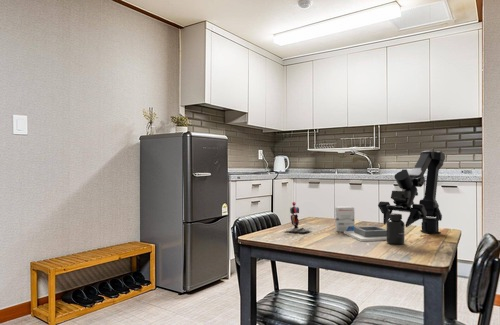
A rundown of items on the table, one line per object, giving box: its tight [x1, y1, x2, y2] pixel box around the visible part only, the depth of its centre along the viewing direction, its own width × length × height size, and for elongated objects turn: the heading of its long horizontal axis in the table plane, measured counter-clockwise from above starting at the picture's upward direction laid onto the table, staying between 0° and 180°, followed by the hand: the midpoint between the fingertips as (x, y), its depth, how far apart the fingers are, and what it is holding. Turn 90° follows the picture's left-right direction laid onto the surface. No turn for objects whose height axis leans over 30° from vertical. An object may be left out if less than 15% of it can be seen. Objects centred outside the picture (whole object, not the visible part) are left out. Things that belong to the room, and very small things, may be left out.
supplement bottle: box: [386, 212, 406, 246], centre depth 144 cm, size 7×7×12 cm
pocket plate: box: [343, 225, 387, 242], centre depth 159 cm, size 18×18×4 cm
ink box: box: [334, 206, 356, 233], centre depth 173 cm, size 9×5×12 cm, turn 84°
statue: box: [283, 201, 312, 234], centre depth 172 cm, size 11×9×15 cm
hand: (394, 225), depth 144 cm, fingers open, 9 cm apart
